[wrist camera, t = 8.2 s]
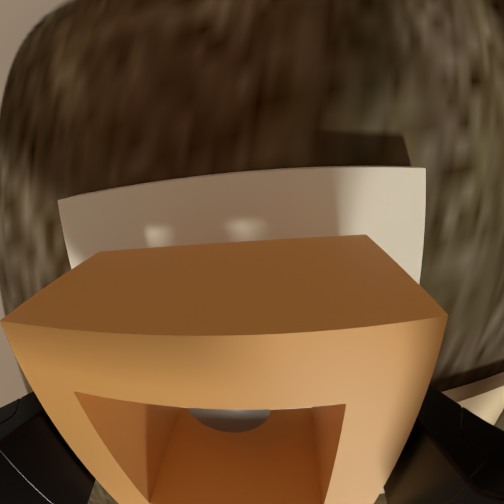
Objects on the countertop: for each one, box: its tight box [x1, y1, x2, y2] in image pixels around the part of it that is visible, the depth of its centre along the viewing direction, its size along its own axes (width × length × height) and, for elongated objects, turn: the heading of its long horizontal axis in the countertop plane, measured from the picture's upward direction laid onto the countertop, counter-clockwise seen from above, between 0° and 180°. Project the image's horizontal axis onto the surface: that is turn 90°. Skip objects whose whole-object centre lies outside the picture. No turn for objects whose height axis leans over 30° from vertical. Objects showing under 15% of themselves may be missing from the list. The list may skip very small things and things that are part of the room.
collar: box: [0, 234, 448, 504], centre depth 6 cm, size 7×7×4 cm
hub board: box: [57, 166, 426, 433], centre depth 9 cm, size 12×10×4 cm
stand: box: [380, 372, 504, 494], centre depth 11 cm, size 9×9×5 cm
